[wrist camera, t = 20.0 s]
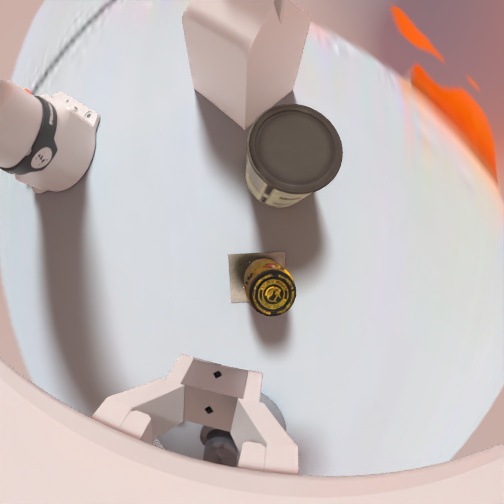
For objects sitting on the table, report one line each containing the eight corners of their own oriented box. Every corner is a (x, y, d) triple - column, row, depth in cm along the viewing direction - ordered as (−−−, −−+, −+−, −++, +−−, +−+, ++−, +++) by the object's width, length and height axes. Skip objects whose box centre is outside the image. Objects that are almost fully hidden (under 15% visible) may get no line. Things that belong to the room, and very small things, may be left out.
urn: (215, 452, 41) (212, 488, 31) (192, 427, 40) (184, 464, 30) (250, 439, 41) (253, 477, 31) (229, 413, 40) (227, 451, 30)
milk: (194, 88, 39) (160, -27, 13) (242, 52, 39) (246, -62, 13) (244, 130, 40) (252, 12, 14) (293, 89, 40) (337, -23, 14)
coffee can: (291, 134, 40) (312, 92, 26) (322, 190, 41) (359, 170, 27) (232, 160, 40) (229, 124, 26) (263, 219, 41) (276, 211, 27)
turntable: (204, 481, 42) (202, 499, 36) (130, 407, 40) (119, 424, 35) (306, 443, 42) (312, 462, 37) (241, 356, 41) (241, 373, 35)
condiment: (286, 298, 42) (303, 321, 30) (231, 302, 41) (227, 327, 30) (284, 251, 41) (302, 257, 29) (228, 254, 41) (223, 261, 29)
